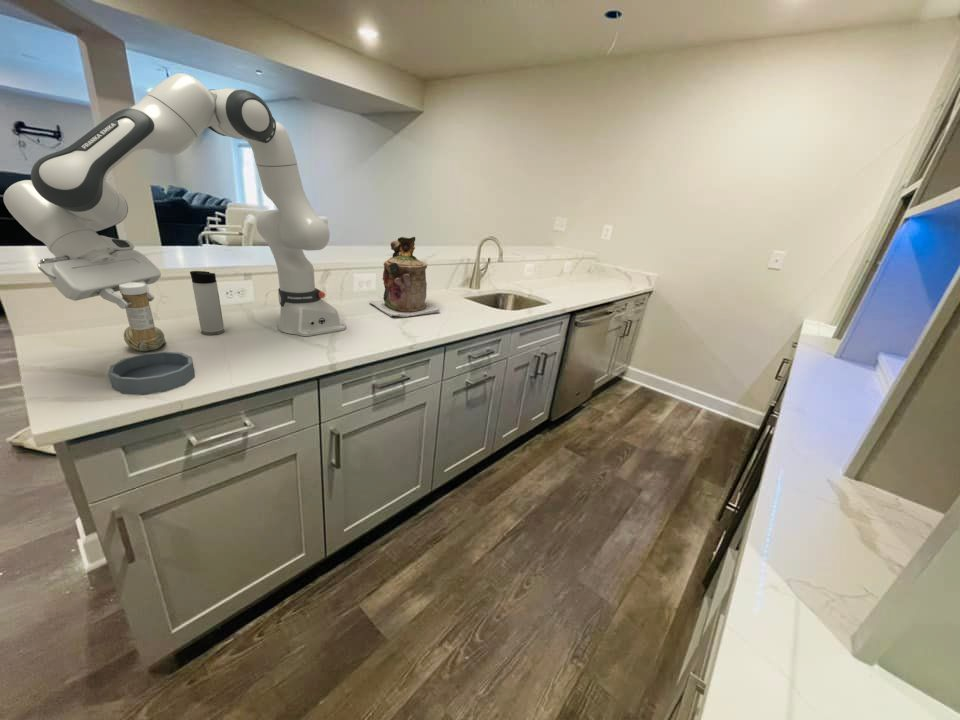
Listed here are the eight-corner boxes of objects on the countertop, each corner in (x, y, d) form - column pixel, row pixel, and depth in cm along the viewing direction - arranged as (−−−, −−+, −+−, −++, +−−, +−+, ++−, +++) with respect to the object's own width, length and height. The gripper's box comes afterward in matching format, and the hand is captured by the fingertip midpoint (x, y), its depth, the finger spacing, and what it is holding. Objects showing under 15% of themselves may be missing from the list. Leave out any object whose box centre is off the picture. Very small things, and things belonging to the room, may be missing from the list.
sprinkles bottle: (143, 336, 92) (129, 280, 87) (163, 337, 93) (150, 282, 87) (127, 342, 88) (112, 285, 83) (148, 344, 89) (134, 287, 83)
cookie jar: (413, 299, 189) (417, 231, 176) (442, 313, 172) (448, 240, 159) (366, 303, 173) (366, 229, 161) (392, 319, 157) (394, 239, 144)
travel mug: (195, 332, 123) (183, 270, 115) (214, 327, 128) (204, 267, 120) (210, 337, 121) (199, 274, 113) (229, 331, 127) (219, 271, 119)
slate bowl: (194, 362, 105) (191, 348, 103) (195, 387, 93) (192, 372, 92) (117, 371, 96) (113, 356, 95) (108, 399, 85) (103, 384, 83)
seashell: (145, 335, 115) (153, 309, 111) (172, 354, 116) (181, 328, 112) (109, 345, 106) (116, 316, 102) (139, 365, 106) (148, 337, 103)
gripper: (37, 250, 73) (99, 307, 76) (136, 240, 92) (182, 286, 95) (23, 270, 75) (85, 324, 78) (123, 256, 94) (169, 300, 97)
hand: (139, 303), depth 87 cm, fingers closed on sprinkles bottle, 4 cm apart
